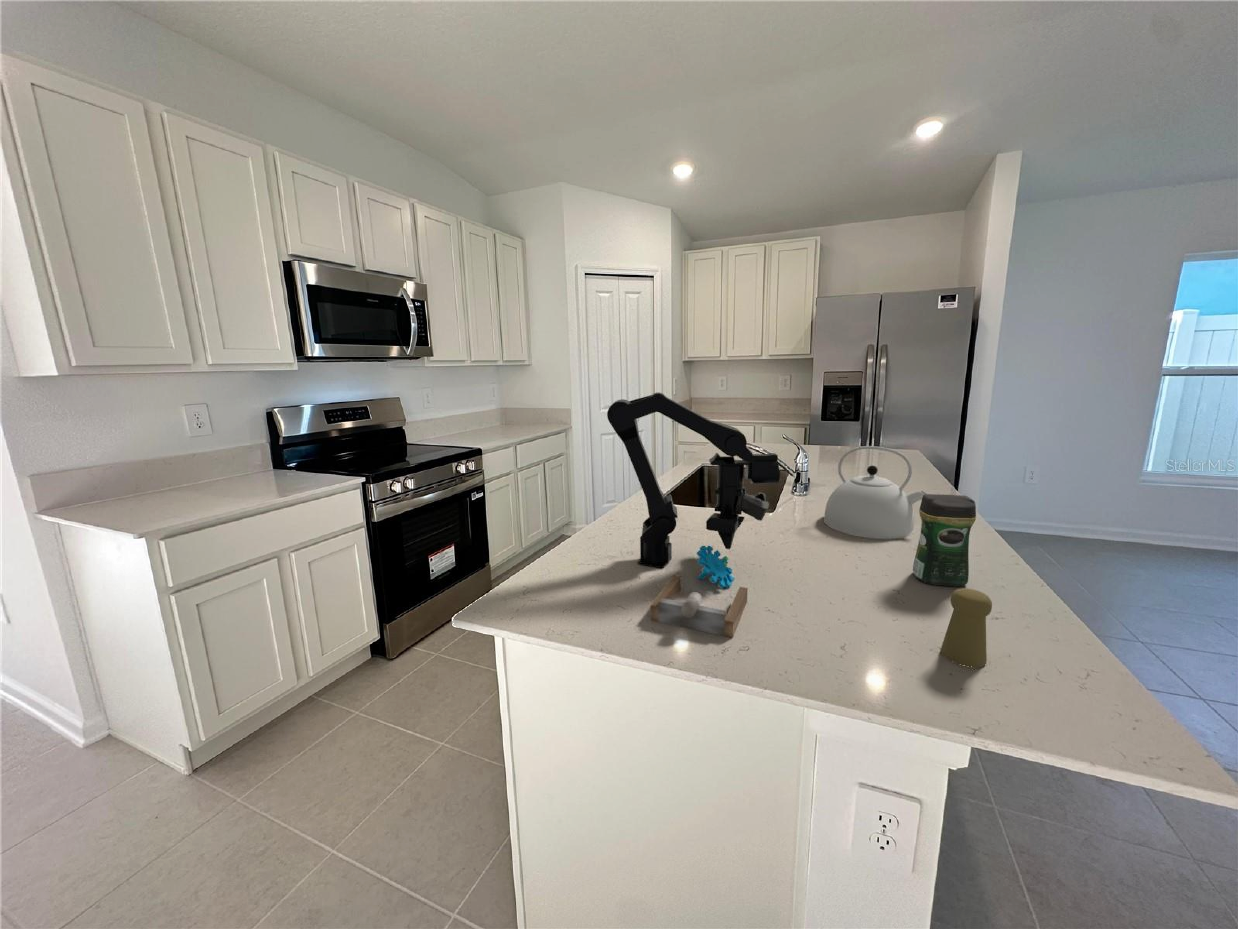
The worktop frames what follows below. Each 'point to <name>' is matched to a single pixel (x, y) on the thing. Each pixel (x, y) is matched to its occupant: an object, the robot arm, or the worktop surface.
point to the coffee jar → (944, 539)
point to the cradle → (697, 611)
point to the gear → (714, 567)
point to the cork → (967, 628)
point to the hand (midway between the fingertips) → (728, 548)
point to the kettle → (872, 504)
